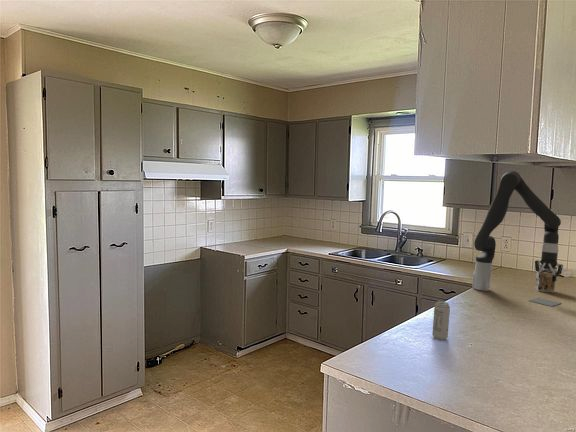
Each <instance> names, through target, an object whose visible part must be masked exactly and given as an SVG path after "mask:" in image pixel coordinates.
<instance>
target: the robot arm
mask: <svg viewBox="0 0 576 432" xmlns="http://www.w3.org/2000/svg"><path fill="white" fill-rule="evenodd" d="M521 176H522V175H520V173H519V172H517V171H515V170H509V171H507V172H505V173H504V174H503V175H502V176H501V178H500V181H499V185H498V189H497V192H496V195H495V196H494V198H493V199H492V202H491V204H490V206H489V209H488V211H487V214H486V216H485V219H484V221H483V223H482V226H481V227H480V228H479V229H480V230H479V231H478V233H477V235H476V237H475V239H474V243H473V245H474V249H475V250H476V251H479V252H480V254H478V255H477V256H476V257H475V267H474V272H473V274H472V281H471V288H472V289H475V290H477V291H483V292H486V291H487V292H488V291H489V292H490V289H491V279H492V271H493V270H492V269H493V268H492V267H493V260H494V259H495V254H496V248H497V247H496V246H497V244H496V243H497V242H496V238H495V237H493V236H492V235H491V234H492V232H493V231H494V230H495V229H496V228H497V227H498V226H499V225H500V224H501V223H502V222H503V221H504V219H505V217H506V214H507V211H508V208H509V203H510V200H511V197H512V194H513V193H514V191H515V192H517V194H518V195H520V197H521V198H522V199H523V202H524V203H525V204H526V205H527V207H528V208H529V209H530V210H531V211H532V212H533V213H534V215H536V216H538V218H540V220H541V221H543V223H544V226H543V227H544V229H543V230H544V234H543V241H542V242H543V243H542V246H541V259H540V260H537V259H536V260H535V261H534V269H535V270H534V271H535V272H537V271H538V272H539V273H542V272H543V271H544V270H545V269H550V270H551V272H552V273H553V277H552V282H555V283H556V282H557V277H558V276H560V275H562V271H563V267H564V265H563V264H560V263H558V253H559V227H560V225H561V224H562V221H561V218H560V217H559V216H558V215H557V214H555V213H554V211H552V210H551V209H550V208H549V207H548V206H547V205H546V204H545V203H544V202H543V200H541V199H540V198H539V196H537V194H535V192H534V191H533V190H532V189H531V188H530V187H529V185H528V184H527V183H526V182H525V180H524V179H523V177H521ZM539 265H542V267H541V268H539ZM555 267H557V271H556V268H555ZM542 278H543V277H542ZM539 279H540V275H539Z"/></svg>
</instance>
